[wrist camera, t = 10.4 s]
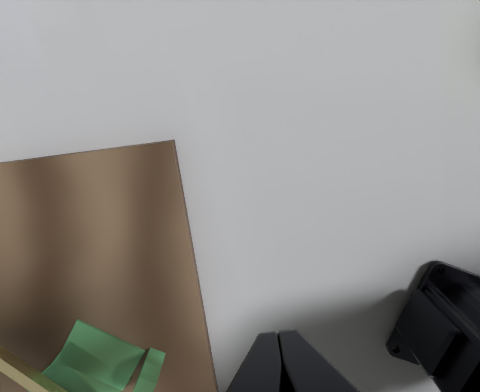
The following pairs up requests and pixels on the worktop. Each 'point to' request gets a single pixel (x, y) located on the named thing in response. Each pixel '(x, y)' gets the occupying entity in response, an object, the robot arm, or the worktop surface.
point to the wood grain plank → (26, 374)
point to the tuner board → (102, 272)
